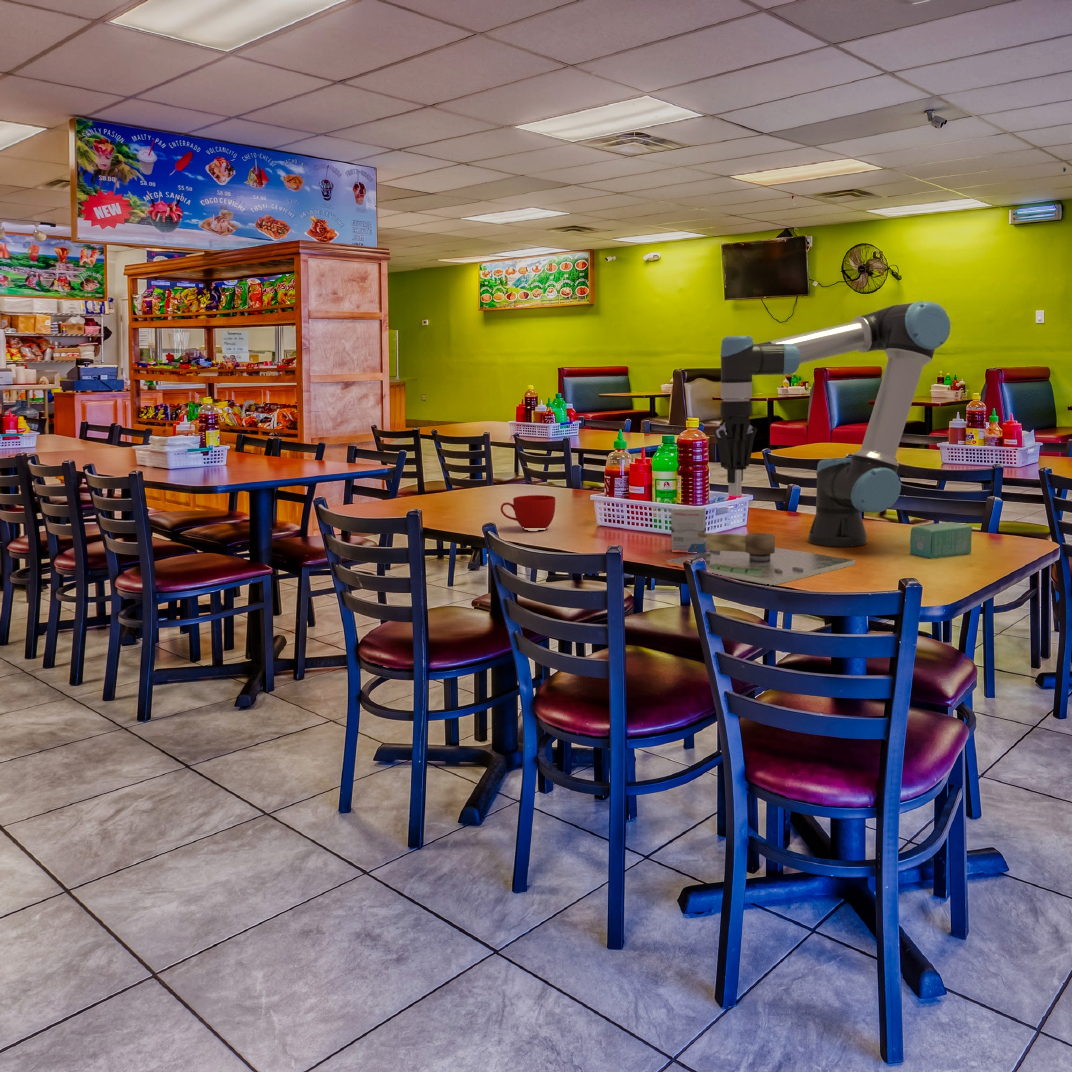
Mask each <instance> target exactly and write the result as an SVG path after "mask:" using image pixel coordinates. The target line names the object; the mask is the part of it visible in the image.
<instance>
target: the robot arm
mask: <svg viewBox="0 0 1072 1072" xmlns="http://www.w3.org/2000/svg"><path fill="white" fill-rule="evenodd" d="M950 332H951V321H950V318H949V315H948V313H947V311H946V309H944V308H943V306H941V305H940V304H938V303H936V302H932V301H923V300H922V301H915V302H911V303H904V304H903V303H902V304H894V305H889V306H887V307H884V308H882V309H881V308H880V309H879V310H876V311H873V312H870V313H867V314H863V315H859V316H855V317H854V318H853V320H852V321H850V322H845V323H842V324H838V325H834V326H829V327H825V328H820V329H816V330H813V331H807V332H803V333H800V334H799V333H798V334H794V335H790V336H789V335H788V336H785V337H782V338H777V339H773V340H768V341H766V342H761V343H754V341H753V337H752V335H737V336H735V335H731V336H725V337H723V339H721V346H720V355H719V357H720V399H721V400H722V401H721V402H720V407H719V408H720V410H719V411H720V416H721V417H722V419H721V426H720V427H719V428H718V429H714V431H713V434H714V436H715V438H716V443H717V449H718V455H719V456H718V457H719V462H720V467H721V468H723V469H724V470H726V471H727V472H726V473H727V474H726V475H727V479H726V480H727V483H728V496H730V497H742V482H743V480H744V470H746V469H747V468H748V467H749V466H750V463H751V458H752V453H753V447H754V441H755V437H756V434H757V432H758V428H757V427H755V426H754V427H753V426H752V425H751V420H750V416H751V415H752V411H753V410H752V404H753V403H752V401H751V400H750V399H752V397H753V396H752V395H753V376H761V375H762V376H779V375H780V376H781V375H782V376H786V375H793V374H795V373H796V372H797V371H798V369H799V368H800V365H801V364H804V363H809V362H813V361H816V360H817V361H818V360H822V359H826V358H831V357H834V356H839V355H844V354H848V353H852V352H856V351H858V352H859V353H862V354H865V353H868V352H874V351H875V352H876V351H884V353H885V354H886V356H887V362H886V365H885V369H884V372H883V376H882V379H881V382H880V385H879V388H878V389H879V390H878V392H877V396H876V399H875V402H874V405H873V409H872V412H871V416H870V418H869V422H868V425H867V428H866V431H865V434H864V438H863V441H862V445H861V447H860V449H859V450H857V451H856V452H854V453H852V457H839V458H827V459H821V460H819V462H818V463H817V468H816V473H815V474H816V502H815V505H816V506H815V507H816V508H815V516H814V518H813V521H812V524H811V527H810V529H809V532H808V543H811V544H814V545H818V546H826V547H840V548H841V547H844V548H845V547H859V546H863V545H866V544H867V536H868V535H867V532H866V528H865V525H864V521H863V518H862V515H861V513H862V512H863V513H872V514H873V513H874V514H877V513H881V512H884V511H886V510H887V509H889V508H891V507H892V506H893V505H894V504H895V503H896V502H897V501H898V498H899V497H900V495H901V489H902V484H901V481H900V477H899V476H898V470H899V466H900V465H899V463H898V461H897V460H896V455H897V453H898V449H899V447H900V446H899V445H900V442H901V440H902V436H903V434H904V429H905V426H906V423H907V419H908V418H909V417H908V416H909V413H910V410H911V408H912V407H911V406H912V403H913V400H914V396H915V393H916V391H917V387H918V385H919V380H920V378H921V374H922V371H923V368H924V367H925V366H926V365H928V364H929V363H931V362H932V361H933V358H934V353H935V350H936V349H938V348H940V347H942V345H944V344H945V343H946V341H947V340H948V338H949V336H950Z"/></svg>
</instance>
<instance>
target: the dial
mask: <svg viewBox="0 0 1072 1072" xmlns="http://www.w3.org/2000/svg"><path fill="white" fill-rule="evenodd" d="M698 538H706V551H710V550H713V551H736V552H746V553H749V554H759V555H764V554H772V553H775V548H776V546H775V545H776V535H774V534H772V533H763V532H762V533H761V532H760V533H759V532H758V533H754V532H753V533H747V534H745V533H744V534H742V533H719V532H717V533H716V532H706V533H698Z"/></svg>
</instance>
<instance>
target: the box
mask: <svg viewBox="0 0 1072 1072" xmlns="http://www.w3.org/2000/svg"><path fill="white" fill-rule="evenodd" d="M972 533H973V526H972V525H969V524H964V523H963V524H962V523H958V522H953V521H948V522H939V523H932V524H923V525H918V526H917V525H915V526H912V527H911V529H910V538H909V545H910V546H909V548H910V549H909V552H910V555H913V556H916V557H917V556H918V557H923V558H927V559H930V558H935V559H940V558H939V557H943V558H948V557H947V556H950V557H956V556H963V555H968V554H972Z"/></svg>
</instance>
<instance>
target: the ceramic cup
mask: <svg viewBox="0 0 1072 1072" xmlns="http://www.w3.org/2000/svg"><path fill="white" fill-rule="evenodd" d="M512 500H513V503H511V502H506V501H505V502H503V503H502V504H501V506H500V512H501V514H502V515H503V517H506V518H507V519H509V520H512V521H515V522H518V524H519V526H520V527H521V528H522V527H524V528H546V527H547V528H548V527H549V526H550V525H551V523H552V522H553V519H554V517H555V512H556V511H555V510H556V497H555V496H553V495H543V494H532V495H520V496H515V497H513V498H512ZM504 506H510V507H511V508H512V509H513V511H514V516H515V517H512V516H510V515H507V513H506V512H504V509H503V508H504ZM547 528H546V529H547Z"/></svg>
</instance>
